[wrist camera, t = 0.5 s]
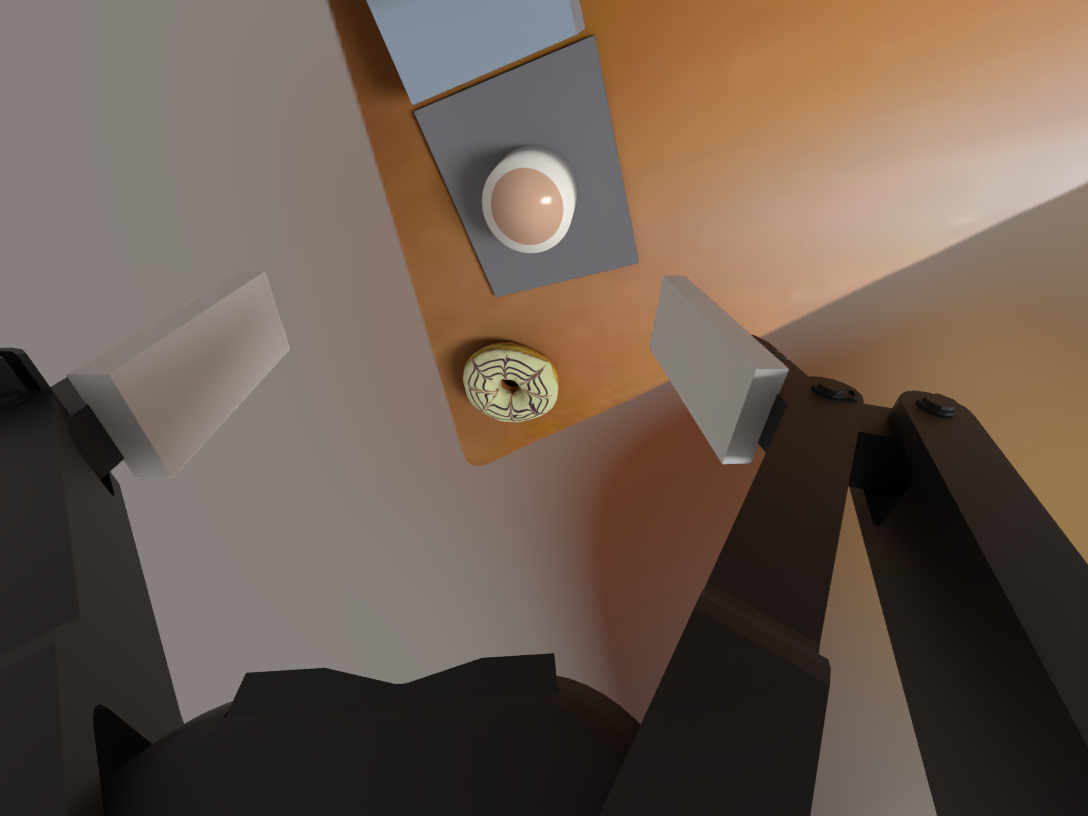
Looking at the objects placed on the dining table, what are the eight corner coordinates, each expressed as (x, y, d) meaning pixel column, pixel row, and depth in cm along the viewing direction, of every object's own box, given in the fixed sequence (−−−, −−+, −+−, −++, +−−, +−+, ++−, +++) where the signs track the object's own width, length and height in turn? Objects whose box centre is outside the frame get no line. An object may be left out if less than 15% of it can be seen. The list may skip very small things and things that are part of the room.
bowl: (479, 160, 34) (466, 174, 32) (563, 131, 32) (556, 142, 29) (511, 244, 39) (502, 262, 36) (587, 223, 36) (583, 241, 34)
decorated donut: (559, 410, 53) (555, 433, 50) (475, 401, 54) (466, 423, 51) (561, 340, 46) (557, 362, 43) (463, 332, 47) (453, 352, 44)
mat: (415, 110, 33) (413, 111, 33) (594, 34, 28) (594, 35, 28) (496, 295, 43) (495, 297, 43) (638, 261, 38) (638, 263, 38)
